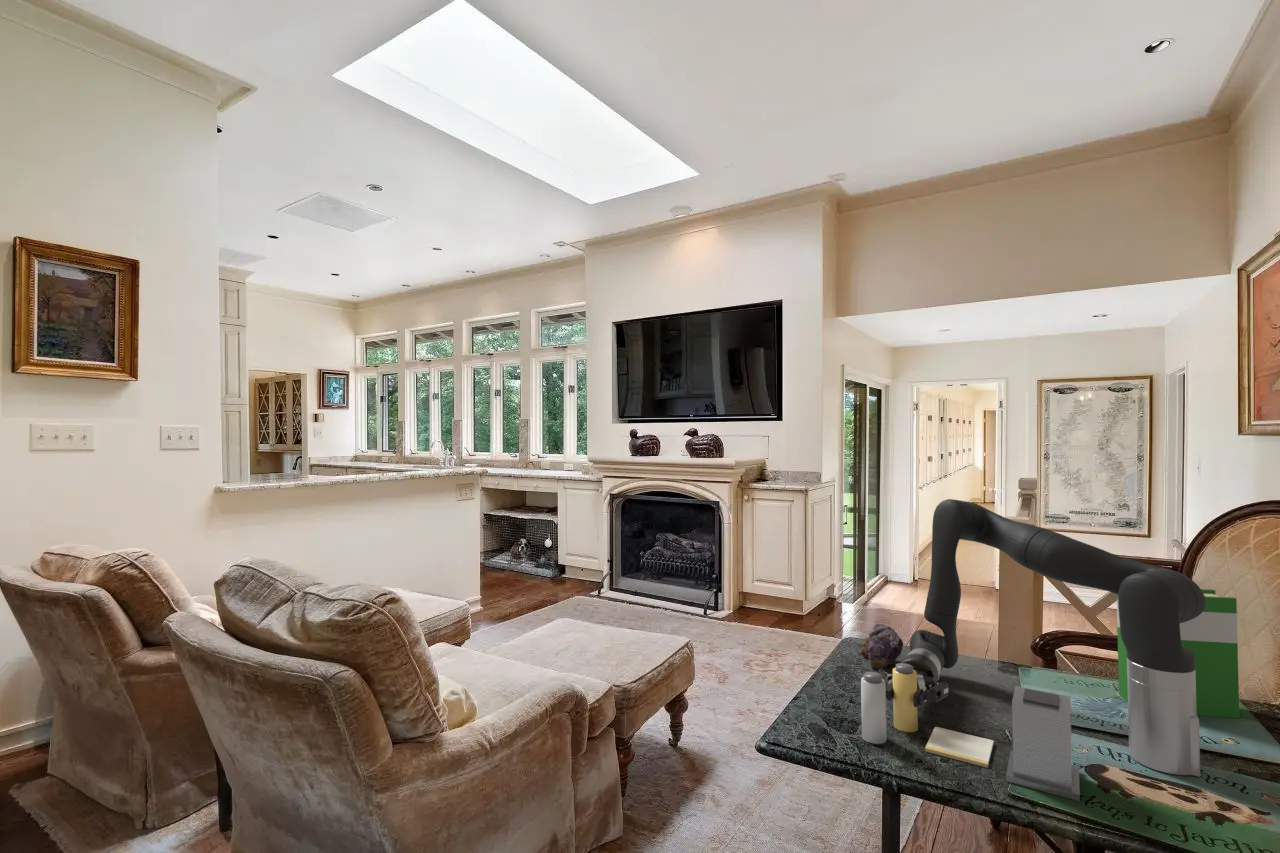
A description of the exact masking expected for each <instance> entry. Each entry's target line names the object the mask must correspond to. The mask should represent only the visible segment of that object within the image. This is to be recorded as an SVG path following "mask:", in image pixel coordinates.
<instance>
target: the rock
mask: <svg viewBox="0 0 1280 853" xmlns="http://www.w3.org/2000/svg"><path fill="white" fill-rule="evenodd" d="M903 647H904V642H903V640H902V638H901V637H900V636H899V635H898V633H897V632H896V631H895V629H893V628H892V627H890V625H889V626H888V625H886V624H882V623H875V624H872V626H870V629H869V633H868V637H865V638H864V639H863V642H862V648H861V649H860V650H859V653H860V654H861V656H863V657H864V656H865V657H864V658H867V657H868V660H869V661H868V663H869V666H870V667H872V668H875V669H878V670H879V669H883V668H884V669H886V668H888V667H889V666H890V665H894V664H895V662H896V660H897V659H898V657H900V655H901V653H902V651H903ZM884 669H883V670H884Z"/></svg>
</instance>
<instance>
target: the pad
mask: <svg viewBox="0 0 1280 853" xmlns="http://www.w3.org/2000/svg"><path fill="white" fill-rule="evenodd" d="M994 743H995V740H994V739H993V740H992V739H989V738H985V737H980V736H976V735H972V734H967V733H964V732H961V731H960V732H959V731H955V730H952V729H947V728H943V727H939V726H934V728H933V730H932V732H931V733H930V737H929V739H928V741H927V743H926V745H925V748H924V751H925V752H926V753H930V754H933V755H936V756H942V757H944V758H947V759H953V760H956V761H961V762H963V763H967V764H971V765H975V766H979V767H983V768H986V769H988V768H989V764H990V759H991V755H992V752H993V747H994Z"/></svg>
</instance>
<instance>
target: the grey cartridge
mask: <svg viewBox="0 0 1280 853" xmlns="http://www.w3.org/2000/svg"><path fill="white" fill-rule="evenodd" d="M860 699H861V700H860V703H861V704H860V705H861V709H860V710H861V712H860V713H861V739H862V740H863V741H865V742H866V743H870V744H874V745H875V744H876V745H881V744H885V743H886V742H887V702H886V701H887V698H886V685H885V680H884V679H882V675H881V674H879V672H876V671H875V672H874V671H866V672H864V673H863V676H862V677H861V678H860Z"/></svg>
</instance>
